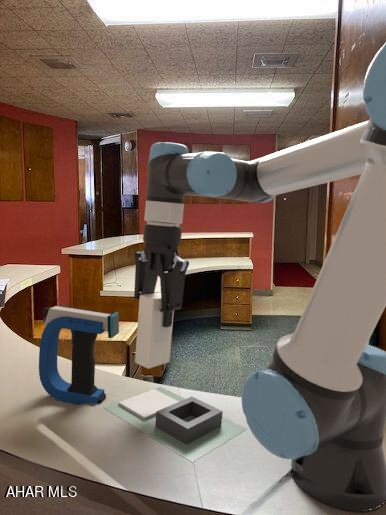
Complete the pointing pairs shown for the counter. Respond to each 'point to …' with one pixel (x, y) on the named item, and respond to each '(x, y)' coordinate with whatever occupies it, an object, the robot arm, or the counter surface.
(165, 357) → the plug
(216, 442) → the green socket board
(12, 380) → the counter surface
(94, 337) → the handheld scanner
